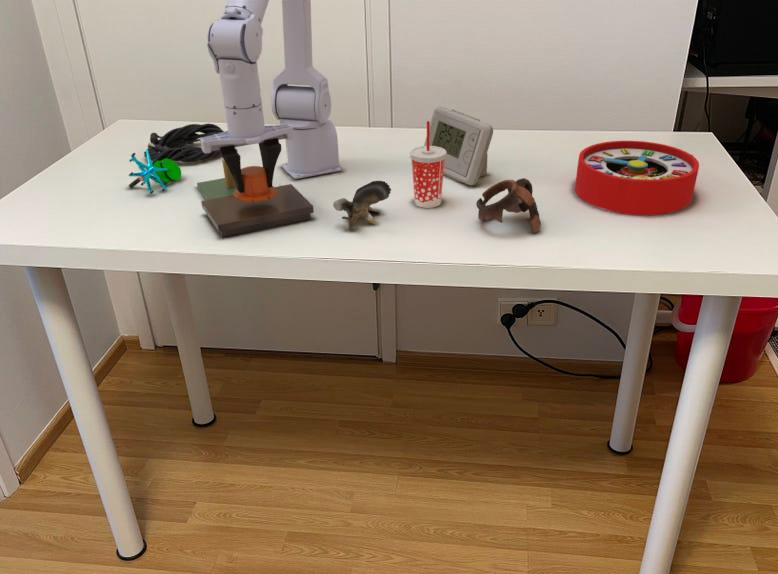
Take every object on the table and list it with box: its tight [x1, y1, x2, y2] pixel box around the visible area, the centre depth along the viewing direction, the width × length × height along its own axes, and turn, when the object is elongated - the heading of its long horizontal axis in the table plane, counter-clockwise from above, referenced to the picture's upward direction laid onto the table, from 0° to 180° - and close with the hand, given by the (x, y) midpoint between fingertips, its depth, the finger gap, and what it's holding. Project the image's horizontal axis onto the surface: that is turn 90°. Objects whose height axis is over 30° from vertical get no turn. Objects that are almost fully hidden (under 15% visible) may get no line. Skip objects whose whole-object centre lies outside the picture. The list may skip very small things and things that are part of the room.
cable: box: [143, 123, 225, 163], centre depth 150 cm, size 17×14×4 cm
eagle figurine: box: [332, 180, 392, 231], centre depth 121 cm, size 8×7×9 cm
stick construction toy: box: [128, 149, 182, 195], centre depth 136 cm, size 12×7×8 cm
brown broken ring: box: [475, 177, 542, 234], centre depth 120 cm, size 12×10×8 cm
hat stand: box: [196, 158, 237, 200], centre depth 132 cm, size 10×10×6 cm
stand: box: [200, 183, 315, 239], centre depth 124 cm, size 16×11×2 cm
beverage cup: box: [409, 120, 446, 209], centre depth 125 cm, size 6×6×14 cm
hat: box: [233, 165, 277, 202], centre depth 121 cm, size 7×7×4 cm
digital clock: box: [423, 105, 494, 186], centre depth 137 cm, size 16×9×11 cm, turn 23°
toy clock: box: [574, 140, 700, 216], centre depth 129 cm, size 20×6×20 cm
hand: (254, 188), depth 122 cm, fingers closed on hat, 4 cm apart
